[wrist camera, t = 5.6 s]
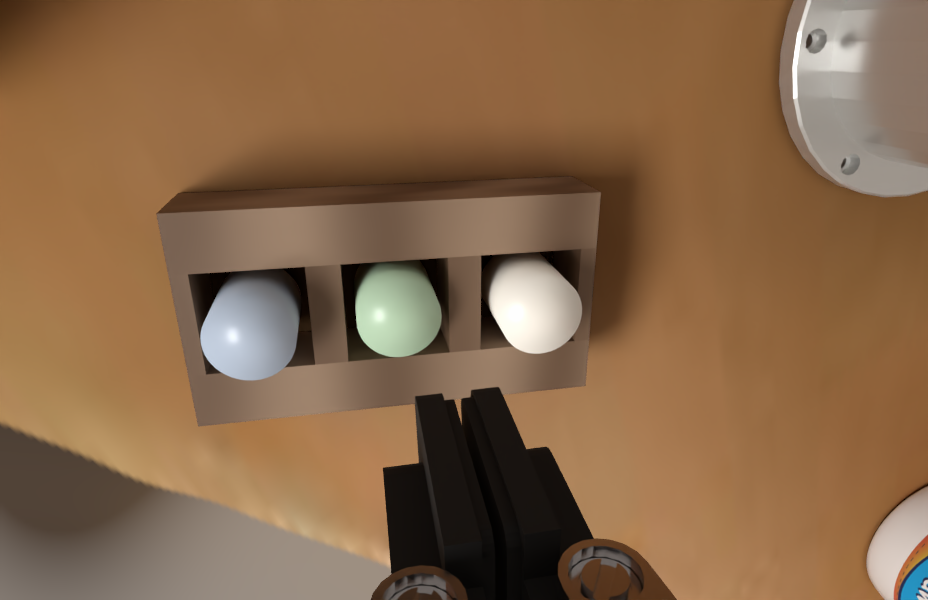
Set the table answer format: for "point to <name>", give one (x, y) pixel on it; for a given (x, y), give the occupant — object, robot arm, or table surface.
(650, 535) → the table surface
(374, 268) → the sage button
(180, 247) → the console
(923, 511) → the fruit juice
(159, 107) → the table surface
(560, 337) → the cream button
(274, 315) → the slate blue button
